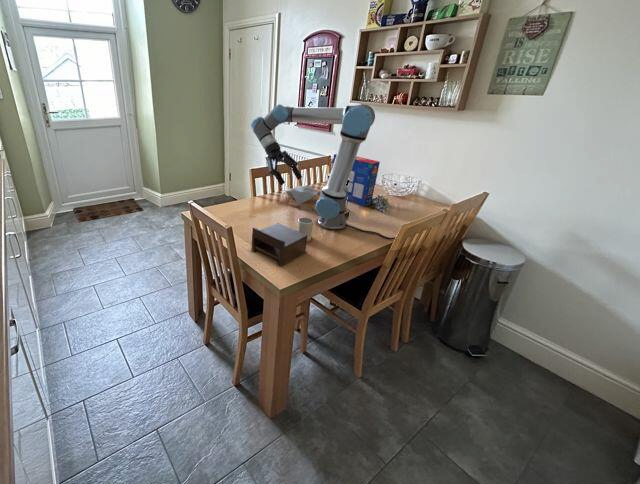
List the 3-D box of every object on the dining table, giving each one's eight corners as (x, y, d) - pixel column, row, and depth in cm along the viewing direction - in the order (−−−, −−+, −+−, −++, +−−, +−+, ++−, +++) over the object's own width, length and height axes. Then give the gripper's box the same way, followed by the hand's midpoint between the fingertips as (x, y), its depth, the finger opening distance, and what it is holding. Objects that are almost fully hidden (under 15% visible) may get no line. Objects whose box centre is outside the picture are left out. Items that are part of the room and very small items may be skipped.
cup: (311, 235, 169) (313, 218, 165) (310, 242, 162) (312, 224, 158) (297, 233, 171) (298, 216, 167) (295, 240, 164) (296, 222, 160)
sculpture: (299, 192, 229) (300, 179, 225) (322, 199, 217) (324, 185, 213) (276, 201, 213) (277, 187, 208) (301, 209, 200) (302, 194, 196)
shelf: (276, 238, 165) (277, 217, 160) (305, 252, 154) (308, 229, 149) (251, 250, 154) (252, 227, 149) (281, 266, 142) (283, 241, 137)
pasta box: (371, 204, 212) (379, 161, 200) (364, 206, 207) (372, 163, 195) (335, 192, 231) (341, 152, 220) (328, 194, 227) (333, 154, 215)
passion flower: (380, 220, 202) (380, 209, 193) (366, 211, 209) (365, 200, 199) (392, 208, 204) (393, 196, 194) (377, 199, 210) (377, 188, 201)
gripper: (282, 146, 176) (301, 180, 173) (249, 153, 160) (270, 190, 157) (290, 138, 171) (311, 172, 167) (257, 144, 155) (280, 182, 151)
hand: (291, 181), depth 162 cm, fingers open, 13 cm apart
